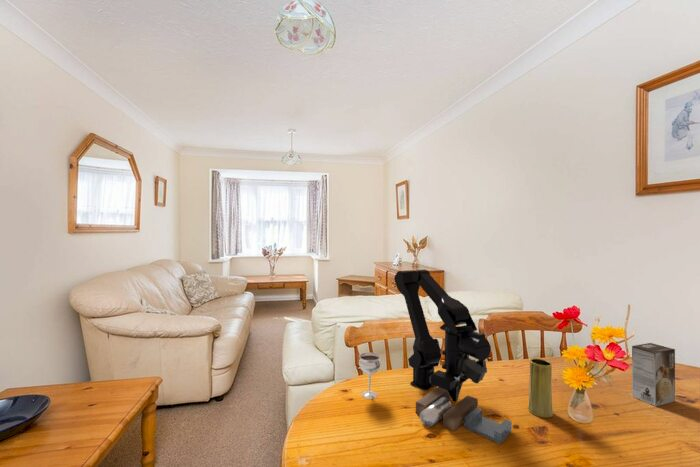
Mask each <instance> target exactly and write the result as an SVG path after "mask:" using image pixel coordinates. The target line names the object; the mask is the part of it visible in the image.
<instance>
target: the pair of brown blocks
mask: <svg viewBox="0 0 700 467" xmlns="http://www.w3.org/2000/svg"><path fill="white" fill-rule="evenodd" d="M442 397H445V398H447V399H448V400H449V401H450V400H451V397H450V394H449V392H448V390H445V389H443V388H440V387H436V388H435V389H433V390H432V391H430V392H428V393H427V394H425V395H424V396H422V397H421V398H419V399H418V400H416V401H415V414H417V415H419V416H420V413H421V412H422V411H423V410H424V409H426V408H427V407H429V406H430V405H432V404H433V403H434V402H436V401H437V400H439V399H440V398H442ZM478 404H479V399H478V398H476V397H474V396H471V395H466V396H465V397H463V398H462V399H461V400H459V401H457V403H456V404H454V405H453V406H452V408H450V409H449V410H448V411H447V412H445V413H444V414H443V418H442V426H443V427H444V428H446V429H449V430H450V431H453V432H455V431H456V430H457V429H458V428H459V427H461V426H462V425H463V424H464V423H465V417H466V416H467V415H468V414H469V413H470V412H472V411H473V410H474V409H475V408H476V407H477V408H479V405H478Z"/></svg>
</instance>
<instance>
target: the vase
mask: <svg viewBox="0 0 700 467" xmlns="http://www.w3.org/2000/svg"><path fill="white" fill-rule="evenodd" d="M528 388H529V389H528V406H527V410H528V411H529V412H530V413H531V414H532V415H534V416H537V417H538V418H539V417H540V418H545V419H549V418H552V417H553V416H554V411H553V395H552V394H553V392H552V389H553V387H552V362H550V361H548V360H546V359H542V358H531V359H530V360H529V386H528Z"/></svg>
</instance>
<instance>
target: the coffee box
mask: <svg viewBox="0 0 700 467" xmlns="http://www.w3.org/2000/svg"><path fill="white" fill-rule="evenodd" d="M631 355H632V356H631V378H632V379H631V380H632V382H631V397H632V396H633V397H632V398H634V397H636V398H635V399H637V398H638V399H637V400H639V399H640V400H639V401H641V400H642V401H641V402H644V401H645V402H644V403H646V402H647V404H648V405H651V404H652V405H651V406H653V405H654V406H653V407H660V406H663V405H666V404H667V405H668V404H671V403H674V402H676V349H675V348H672V347H667V346H663V345H660V344H656V343H653V342H649V343H648V342H647V343H642V344H636V345H632V346H631Z"/></svg>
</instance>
